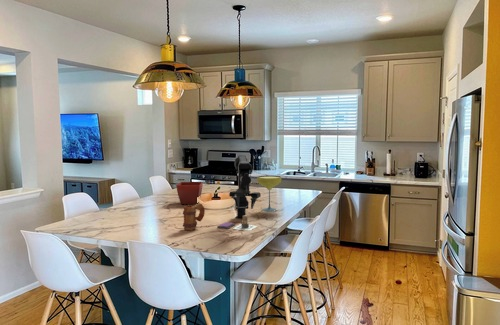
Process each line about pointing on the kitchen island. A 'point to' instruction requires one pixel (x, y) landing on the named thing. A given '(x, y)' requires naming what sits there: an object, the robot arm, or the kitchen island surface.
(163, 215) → the kitchen island surface
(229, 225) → the ink pad
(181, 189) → the plant pot
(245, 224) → the stamp
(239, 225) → the sheet
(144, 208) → the kitchen island surface
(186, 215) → the mug
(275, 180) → the cocktail glass
